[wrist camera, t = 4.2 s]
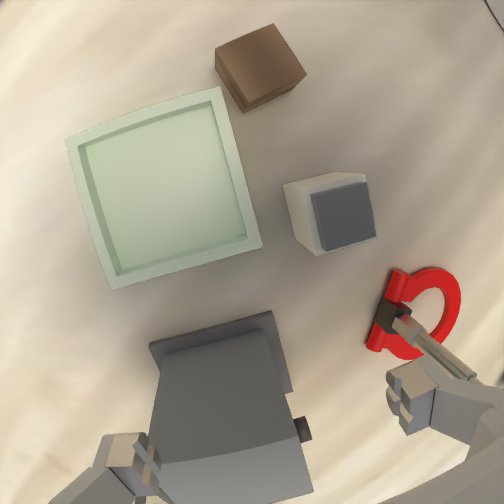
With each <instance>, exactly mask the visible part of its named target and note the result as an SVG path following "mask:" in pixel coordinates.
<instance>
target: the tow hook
mask: <svg viewBox="0 0 504 504" xmlns="http://www.w3.org/2000/svg"><path fill="white" fill-rule="evenodd" d="M433 287H438V288H441V290H442V291H443V293H444V296H445V304H446V305H445V311H444V314H443V317H442V319H441V321H440V323H439V325H438V326H437V327H436V329H435V330H434V331H433V332H432V333H431V334H430V335H429V334H428V332H427V330H426V329H425V328H424V327H423V326H422V325H421V324H419V323H418V322H417V321H416V320H414V319H413V318H412V317H410V315H411V313H412V310H411V309H410V308H409V307H407V306H406V305H405V304H403V303H402V302H401V301H404V302H411V301H413V300H414V298H415V297H416V296H418V295H419V294H420V293H421V292H423V291H424V290H426V289H428V288H433ZM460 304H461V291H460V288H459V284H458V282H457V280H456V279H455V277H454V276H453V275H452V274H450V273H449V272H447V271H445V270H443V269H439V268H434V267H433V268H428V269H423V270H421V271H420V272H418V273H416V274H414V275H412V276H411V275H409V274H407V273H405V272H403V271H400V270H393V272H392V276H391V279H390V282H389V285H388V288H387V290H386V293H385V296H384V297H383V298H382V301H381V304H380V306H379V309H378V312H377V315H376V317H375V324H374V326H373V329H372V331H371V334H370V336H369V339H368V341H367V344H366V347H367V348H368V349H369V350H371V351H374V352H381V350H382V348H388V349H389V350H390V351H391V352H392V353H393V354H394V355H395V356H396V357H398V358H400V359H404V360H415V359H417V358H419V357H421V356H423V355H426V354H427V355H429V356H430V357H431V358H432V359H433V360H434V361H435V362H436V363H437V364H438V365H439V366H440V367H441V368H442V369H443V370H444V371H445V372H446V373H447V374H448V375H449V376H450V378H451V379H452V380H453V379H455V378H458V379H462V380H466V381H470V382H474V383H478V384H482V383H481V382H480V381H479V380H478V379H477V378H476V376H477V374H476V373H475V372H474V371H473V370H472V369H470V368H469V367H468V366H467V365H466V364H464V363H463V362H462V361H461V360H460V359H458V358H457V357H456V356H455V355H454V354H452V353H451V352H450V351H449V350H447V349H446V348H445V347H444V346H442V345H441V343H442V342H443V341H444V340H445V338H446V337H447V336H448V335H449V333H450V331H451V330H452V328H453V326H454V324H455V322H456V319H457V317H458V314H459V310H460ZM404 339H405V340H406V341H405V340H404ZM483 385H484V384H483Z"/></svg>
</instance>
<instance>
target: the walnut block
mask: <svg viewBox="0 0 504 504" xmlns="http://www.w3.org/2000/svg"><path fill="white" fill-rule="evenodd" d="M215 69H216V71H217V72H218V74H219V75H220V77H221V79H222V80H223V82H224V83H225V85H226V87H227V88H228V90H229V92H230V93H231V95H232V96H233V98H234V100H235V101H236V103H237V105H238V106H239V108H240V110H241V111H242V113H243V114H244V113H246V112H247V111H249V110H251V109H253V108H255V107H257V106H259V105H261V104H263V103H265V102H267V101H269V100H271V99H273V98H275V97H277V96H279V95H281V94H283V93H285V92H287V91H290V90H292V89H293V88H294V87H295V86H296V85H297V84H298V83H299V82H300V81H301V80H302V79H303V78H304V77H305V76H306V75H307V74H306V72H305V71H304V69H303V67H302V66H301V64H300V63H299V61H298V59H297V58H296V56H295V55H294V53H293V52H292V50H291V49H290V47H289V46H288V44H287V43H286V41H285V40H284V38H283V37H282V35H281V34H280V32H279V31H278V29H277V28H276V26H275V25H274V23H273V24H271V25H268V26H265V27H263V28H261V29H258V30H256V31H253V32H251V33H249V34H246V35H244V36H242V37H239V38H237V39H235V40H233V41H230V42H228V43H226V44H224V45H222V46H220V47H218V48H216V49H215Z"/></svg>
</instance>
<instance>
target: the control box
mask: <svg viewBox="0 0 504 504" xmlns="http://www.w3.org/2000/svg"><path fill="white" fill-rule="evenodd" d="M149 349H150V351H151V353H152V356H153V358H154V360H155V362H156V364H157V366H158V368H159V370H160V372H161V373H160V378H159V383H158V388H157V392H156V397H155V402H154V407H153V412H152V418H151V423H150V428H149V433H148V438H149V444H150V445H152V446H154V447H155V448H156V449H157V451H158V452H159V455H160V457H161V464H162V465H161V471H160V473H159V474H158V475H157V476H156V477H157V478H158V479H159V481H160V482H159V486H160V487H161V489H162V490H163V491H164V492H165V493H166V494H167V495H168V496H169V498H170V499H171V500H172V501H173V502H174V503H175V504H270V503H275V502H279V501H283V500H287V499H291V498H295V497H298V496H302V495H305V494H309V493H312V492H314V490H313V486H312V483H311V479H310V476H309V472H308V468H307V465H306V461H305V458H304V454H303V451H302V447H301V443H303V442H306V441H309V440H312V436H311V432H310V429H309V426H308V423H307V420H306V418H305V416H303V417H300V418H297V419H293V418H292V415H291V412H290V409H289V406H288V403H287V400H286V397H285V394H287V393H290V392H293V389H292V385H291V381H290V377H289V373H288V369H287V366H286V362H285V358H284V354H283V350H282V346H281V343H280V339H279V335H278V331H277V327H276V324H275V320H274V316H273V313H272V311H269V312H266V313H262V314H259V315H255V316H252V317H248V318H245V319H241V320H238V321H234V322H230V323H227V324H223V325H219V326H216V327H212V328H208V329H204V330H200V331H196V332H193V333H189V334H185V335H181V336H177V337H173V338H169V339H164V340H160V341H156V342H152V343H150V344H149Z"/></svg>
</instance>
